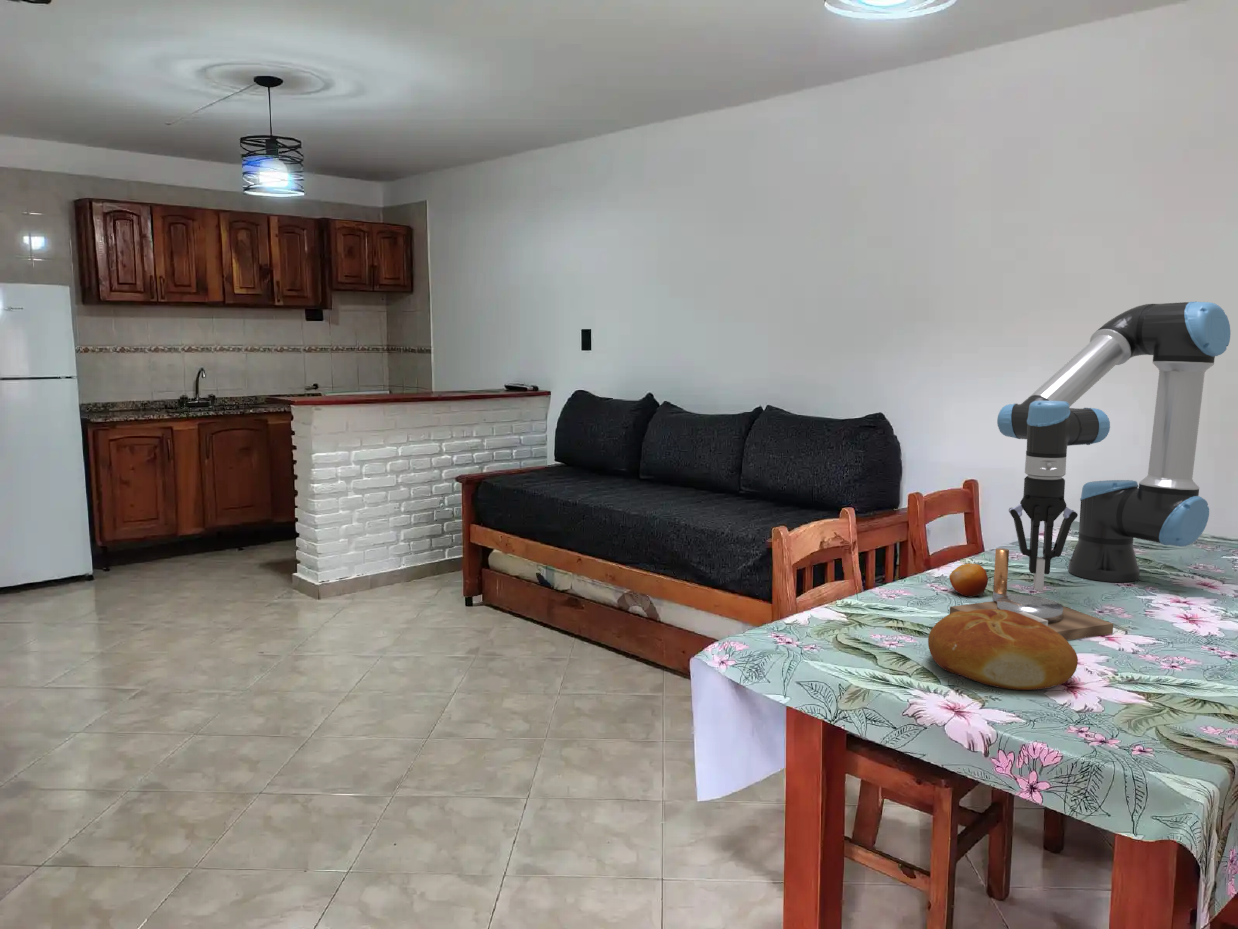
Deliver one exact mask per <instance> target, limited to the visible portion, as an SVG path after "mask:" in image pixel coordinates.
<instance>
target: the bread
mask: <svg viewBox="0 0 1238 929" xmlns="http://www.w3.org/2000/svg"><path fill="white" fill-rule="evenodd" d="M927 645H928V650H929V653H930V656H931V657H932V659H933V661H934V662H935V664H937V665H938V666H939V667H940V668H942V669H943V670H945V671H947V672H949V673H952V674H955V675H959V676H963V677H964V678H966V679H969V680H972V681H974V682H977V683H981V684H984V685H987V686H992V687H996V688H1002V689H1008V690H1015V691H1017V690H1018V691H1030V690H1031V691H1032V690H1033V691H1034V690H1035V691H1036V690H1043V689H1049V688H1052V687H1057V686H1060V685H1063V684H1065V683H1066V682H1068V681H1069V680H1070V679H1071V678H1072V677H1073V675H1074V674H1075V673H1076V670H1077V669H1078V668H1077V667H1078V664H1079V660H1078V654H1077V653H1076V650H1075V649H1074V647H1073V646H1072V645H1071V643H1069V640H1066V639H1065V638H1064V637H1063V636H1061V635H1060V634H1059V633H1057V632H1056V631H1054V630H1053V629H1051V628H1050V627H1048V626H1046V625H1044V624H1042V623H1040V622H1038V621H1036V620H1034V619H1032V618H1029V617H1026V616H1024V615H1022V614H1019V613H1016V612H1013V611H1009V610H998V609H977V610H972V611H968V612H966V611H957V612H953V613H951V614H950V613H949V614H948V615H945V616H944V617H943V618H941V619H940V620H939V621H937V622H936V624H935V625H933V627H932V628H931V629H930V631H929V634H928V638H927Z"/></svg>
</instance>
